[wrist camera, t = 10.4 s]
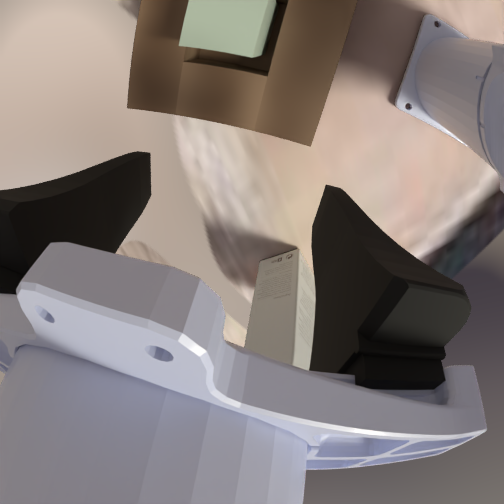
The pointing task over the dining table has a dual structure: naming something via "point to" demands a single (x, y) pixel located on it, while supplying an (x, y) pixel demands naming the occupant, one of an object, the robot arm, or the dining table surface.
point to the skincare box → (283, 310)
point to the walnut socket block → (242, 69)
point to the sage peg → (229, 25)
